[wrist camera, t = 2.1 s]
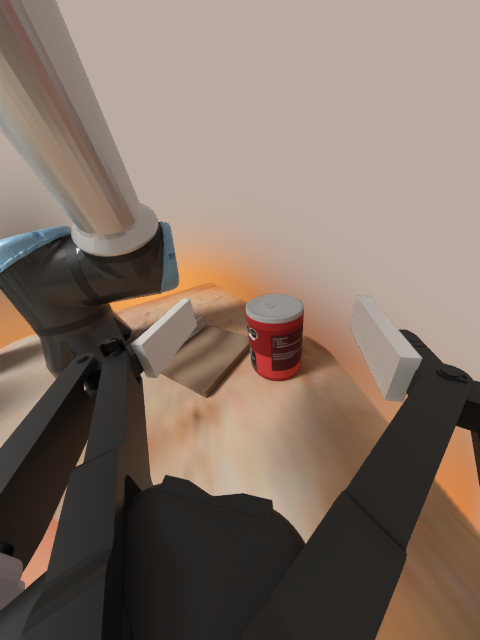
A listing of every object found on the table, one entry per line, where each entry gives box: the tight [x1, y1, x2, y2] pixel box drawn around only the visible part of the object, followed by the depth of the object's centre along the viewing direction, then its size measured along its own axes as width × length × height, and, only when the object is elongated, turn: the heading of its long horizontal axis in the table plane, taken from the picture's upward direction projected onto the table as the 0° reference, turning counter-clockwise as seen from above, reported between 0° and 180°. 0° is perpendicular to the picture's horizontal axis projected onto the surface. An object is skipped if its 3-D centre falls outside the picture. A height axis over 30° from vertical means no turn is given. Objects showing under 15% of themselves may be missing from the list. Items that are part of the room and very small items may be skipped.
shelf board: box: [161, 315, 250, 398], centre depth 35 cm, size 13×14×4 cm
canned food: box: [246, 294, 304, 381], centre depth 29 cm, size 8×8×11 cm
